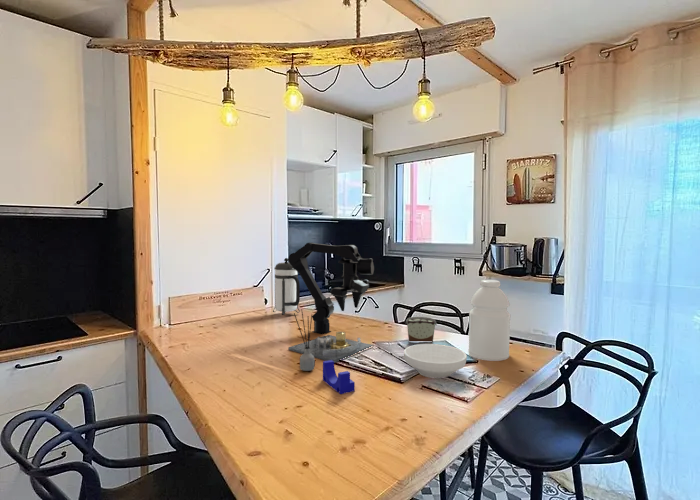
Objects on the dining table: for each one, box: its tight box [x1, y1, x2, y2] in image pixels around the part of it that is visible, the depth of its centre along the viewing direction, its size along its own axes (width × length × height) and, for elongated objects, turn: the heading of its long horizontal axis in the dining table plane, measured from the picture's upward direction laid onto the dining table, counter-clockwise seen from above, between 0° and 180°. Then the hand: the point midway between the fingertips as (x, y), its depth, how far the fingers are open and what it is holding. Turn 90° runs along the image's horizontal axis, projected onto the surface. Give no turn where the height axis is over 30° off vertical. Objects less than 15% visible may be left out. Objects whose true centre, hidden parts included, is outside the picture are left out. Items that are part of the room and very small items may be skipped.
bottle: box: [467, 279, 511, 362], centre depth 142 cm, size 14×14×28 cm
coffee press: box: [272, 257, 301, 316], centre depth 215 cm, size 17×16×30 cm
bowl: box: [403, 343, 468, 379], centre depth 125 cm, size 20×20×7 cm
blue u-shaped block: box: [322, 360, 356, 395], centre depth 116 cm, size 12×4×6 cm, turn 28°
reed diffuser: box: [293, 308, 316, 372], centre depth 128 cm, size 10×7×20 cm
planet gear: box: [331, 331, 351, 349], centre depth 148 cm, size 8×8×6 cm
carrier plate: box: [288, 334, 374, 364], centre depth 152 cm, size 23×23×4 cm
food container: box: [405, 316, 438, 343], centre depth 161 cm, size 12×6×10 cm, turn 84°
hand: (349, 309), depth 172 cm, fingers open, 9 cm apart
